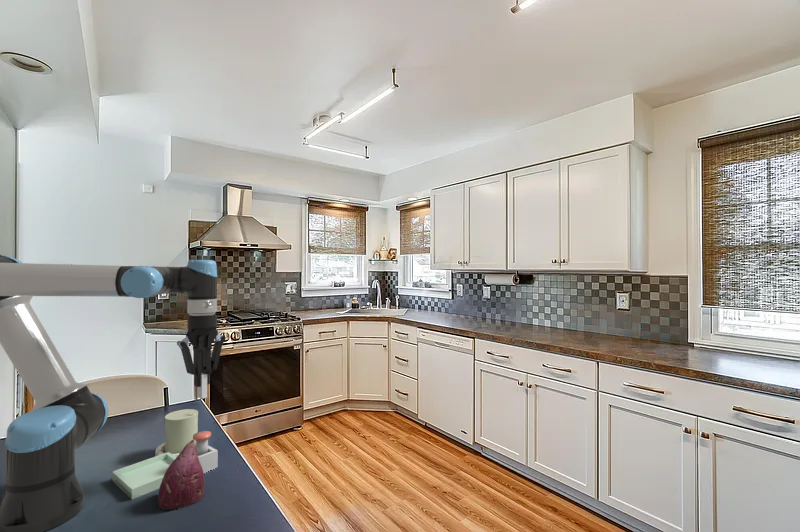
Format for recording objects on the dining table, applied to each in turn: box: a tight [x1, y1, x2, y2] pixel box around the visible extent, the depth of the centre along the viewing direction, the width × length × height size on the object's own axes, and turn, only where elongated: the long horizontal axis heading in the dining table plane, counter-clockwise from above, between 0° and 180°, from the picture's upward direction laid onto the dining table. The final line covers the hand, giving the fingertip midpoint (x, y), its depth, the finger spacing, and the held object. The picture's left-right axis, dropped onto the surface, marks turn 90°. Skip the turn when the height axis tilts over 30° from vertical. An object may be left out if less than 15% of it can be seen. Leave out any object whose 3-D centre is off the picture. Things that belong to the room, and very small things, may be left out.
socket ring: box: [154, 442, 180, 457], centre depth 121 cm, size 14×14×2 cm
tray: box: [111, 452, 177, 500], centre depth 105 cm, size 14×14×2 cm
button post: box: [198, 444, 219, 474], centre depth 110 cm, size 6×6×5 cm
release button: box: [193, 430, 212, 456], centre depth 110 cm, size 5×5×6 cm
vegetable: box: [157, 439, 206, 510], centre depth 98 cm, size 10×10×15 cm
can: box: [164, 408, 199, 454], centre depth 121 cm, size 9×9×12 cm
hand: (202, 397), depth 110 cm, fingers closed
